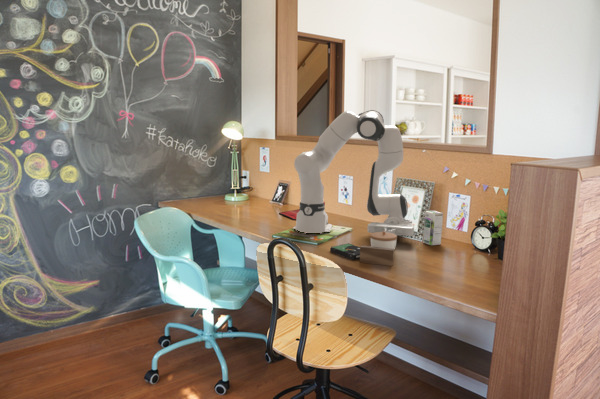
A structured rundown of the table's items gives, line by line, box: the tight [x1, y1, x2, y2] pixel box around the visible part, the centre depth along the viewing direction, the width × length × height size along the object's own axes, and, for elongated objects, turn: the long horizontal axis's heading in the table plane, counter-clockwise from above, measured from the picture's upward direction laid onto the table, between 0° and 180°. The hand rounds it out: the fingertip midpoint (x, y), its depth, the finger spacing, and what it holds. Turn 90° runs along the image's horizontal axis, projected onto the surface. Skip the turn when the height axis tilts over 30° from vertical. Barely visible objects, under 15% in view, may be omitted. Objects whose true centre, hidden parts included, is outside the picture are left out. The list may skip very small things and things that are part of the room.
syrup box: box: [422, 210, 444, 246], centre depth 206 cm, size 6×6×14 cm
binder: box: [278, 208, 300, 221], centre depth 263 cm, size 16×2×21 cm
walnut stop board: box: [359, 245, 395, 267], centre depth 177 cm, size 2×12×6 cm, turn 71°
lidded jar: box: [369, 231, 398, 250], centre depth 190 cm, size 11×11×9 cm
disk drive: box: [330, 242, 361, 261], centre depth 189 cm, size 10×3×15 cm
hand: (388, 232), depth 200 cm, fingers closed
